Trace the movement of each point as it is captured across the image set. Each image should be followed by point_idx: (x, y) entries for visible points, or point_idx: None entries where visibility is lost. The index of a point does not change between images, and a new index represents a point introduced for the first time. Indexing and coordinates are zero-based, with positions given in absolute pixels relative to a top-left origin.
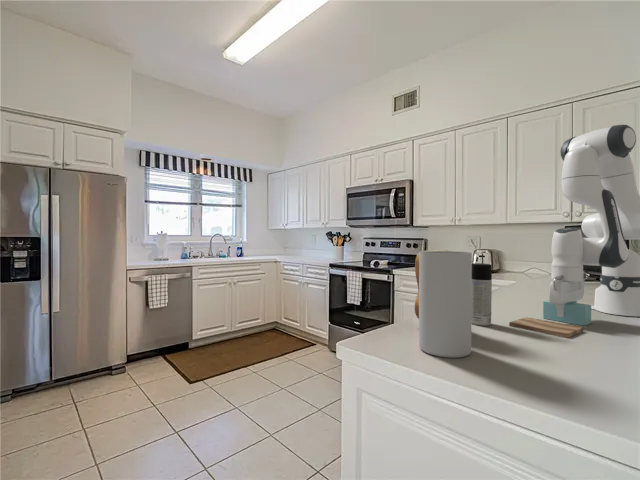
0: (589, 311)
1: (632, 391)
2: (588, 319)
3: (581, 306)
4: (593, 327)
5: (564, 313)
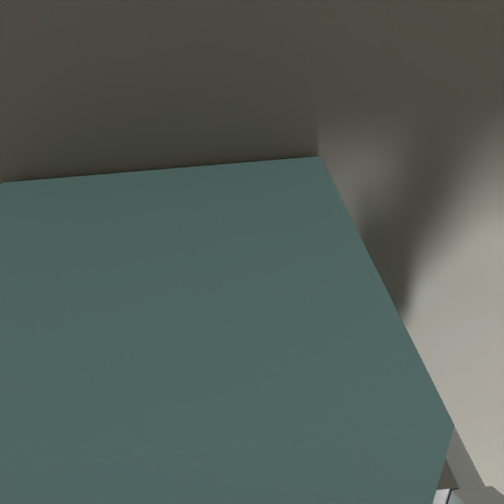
0: (7, 318)
1: None
2: (120, 209)
3: (391, 496)
4: (314, 23)
5: None
